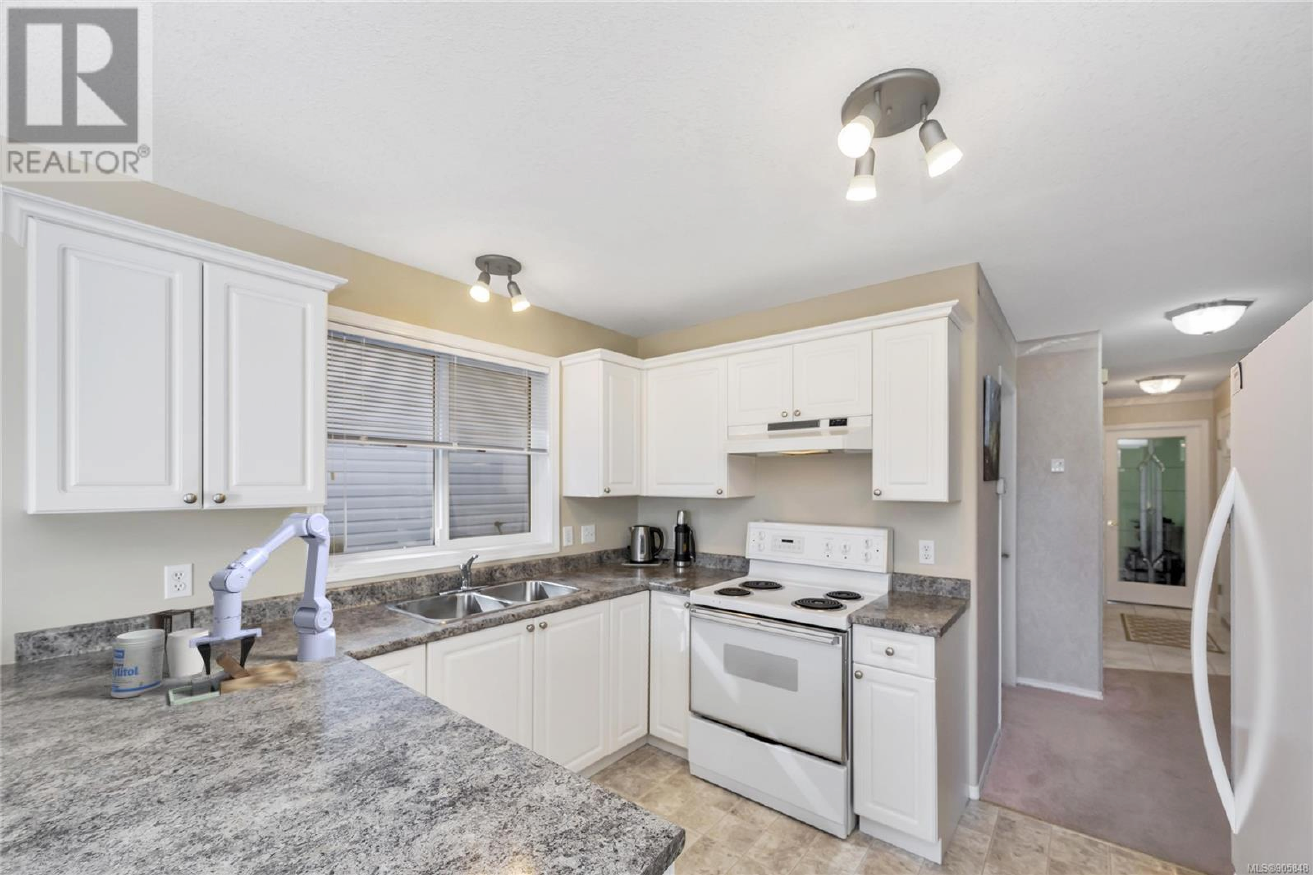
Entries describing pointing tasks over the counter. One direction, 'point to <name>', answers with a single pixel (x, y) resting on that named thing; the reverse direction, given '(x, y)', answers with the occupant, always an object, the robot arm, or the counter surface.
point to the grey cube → (219, 679)
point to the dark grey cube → (200, 686)
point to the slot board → (260, 677)
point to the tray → (188, 698)
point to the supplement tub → (137, 662)
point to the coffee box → (171, 626)
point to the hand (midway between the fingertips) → (225, 670)
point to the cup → (184, 652)
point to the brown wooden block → (232, 666)
